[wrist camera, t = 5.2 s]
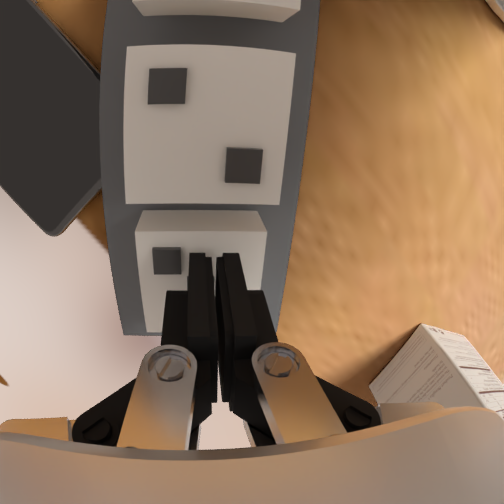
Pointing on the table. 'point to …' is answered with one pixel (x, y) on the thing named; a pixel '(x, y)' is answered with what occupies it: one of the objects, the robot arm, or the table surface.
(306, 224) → the table surface
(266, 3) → the tile one
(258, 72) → the tile two
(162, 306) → the tile three
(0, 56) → the smartphone
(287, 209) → the button board
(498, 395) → the supplement box
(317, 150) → the table surface
